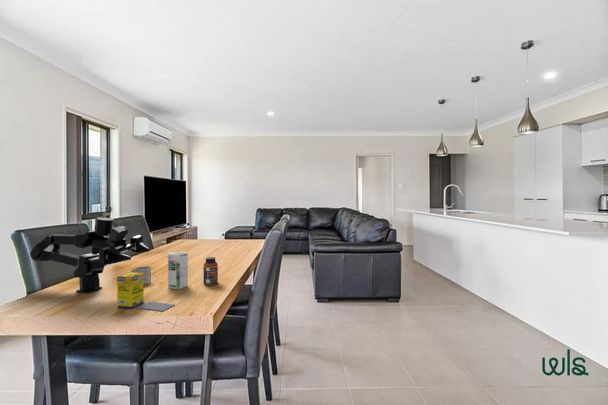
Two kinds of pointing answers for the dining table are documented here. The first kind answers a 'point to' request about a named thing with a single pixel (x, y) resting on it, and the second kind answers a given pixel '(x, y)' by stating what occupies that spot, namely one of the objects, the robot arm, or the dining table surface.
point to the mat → (155, 306)
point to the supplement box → (130, 290)
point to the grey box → (144, 273)
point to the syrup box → (177, 270)
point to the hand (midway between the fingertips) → (140, 254)
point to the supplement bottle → (210, 271)
